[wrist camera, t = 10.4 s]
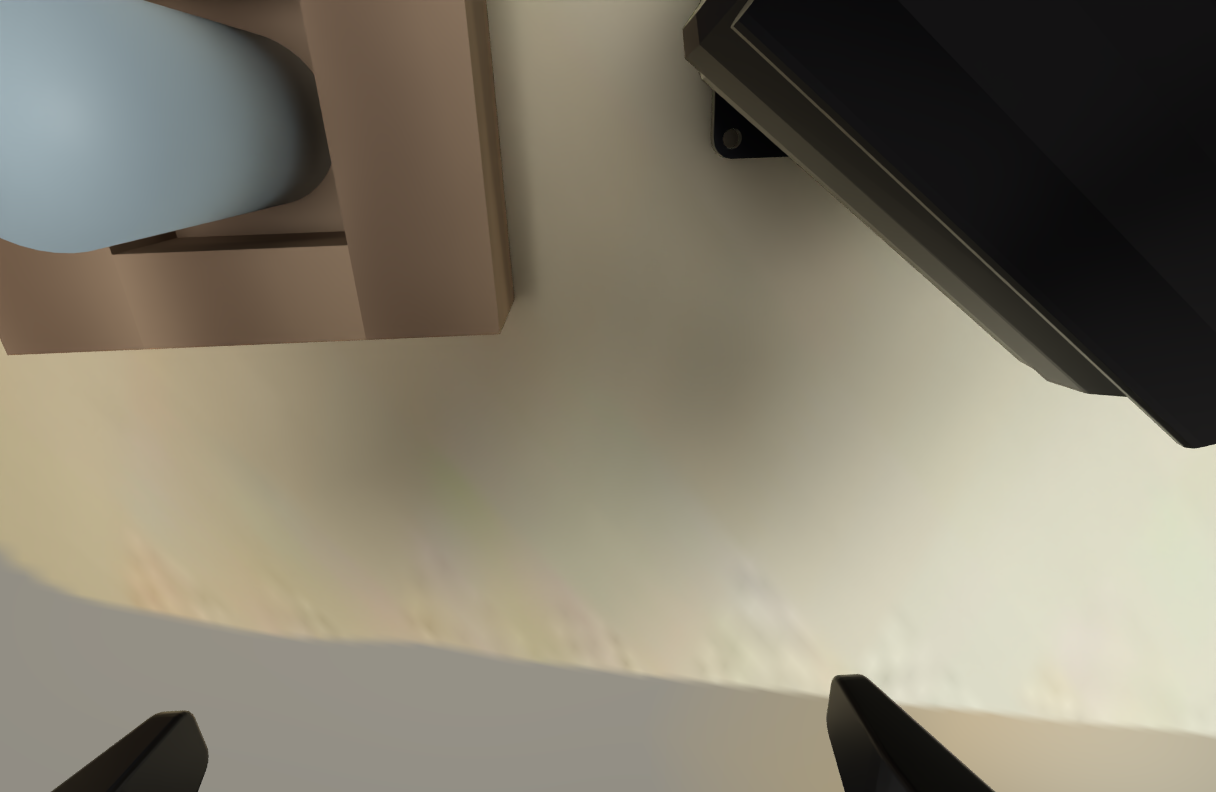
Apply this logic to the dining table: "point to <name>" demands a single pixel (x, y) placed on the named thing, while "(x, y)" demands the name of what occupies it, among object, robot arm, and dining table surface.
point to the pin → (145, 123)
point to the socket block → (316, 207)
